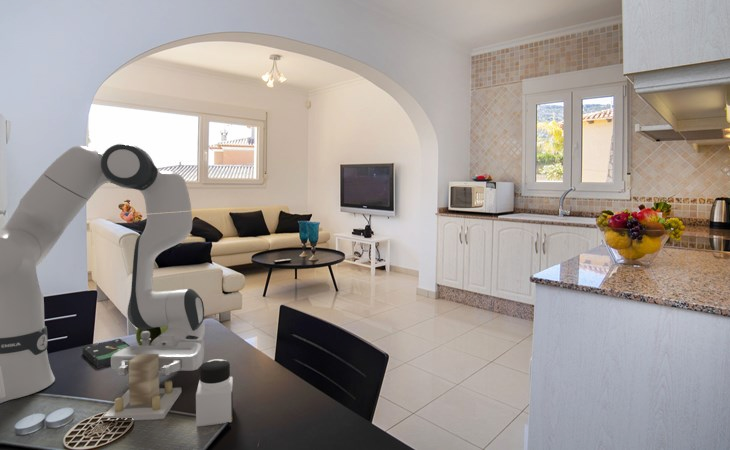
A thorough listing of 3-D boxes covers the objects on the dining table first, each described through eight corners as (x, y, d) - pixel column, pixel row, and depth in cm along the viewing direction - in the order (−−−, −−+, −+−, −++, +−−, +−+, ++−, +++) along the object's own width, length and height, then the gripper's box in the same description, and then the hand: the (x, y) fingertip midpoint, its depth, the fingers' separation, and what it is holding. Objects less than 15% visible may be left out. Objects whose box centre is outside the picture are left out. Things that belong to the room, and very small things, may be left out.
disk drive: (81, 356, 123) (97, 369, 113) (81, 346, 123) (97, 359, 113) (120, 346, 131) (138, 358, 121) (119, 338, 131) (138, 349, 121)
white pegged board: (103, 421, 87) (102, 404, 87) (128, 394, 99) (128, 379, 98) (163, 418, 88) (163, 402, 88) (181, 392, 100) (181, 377, 100)
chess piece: (154, 353, 124) (154, 327, 123) (155, 359, 120) (154, 332, 119) (136, 356, 122) (136, 329, 121) (136, 362, 118) (136, 334, 117)
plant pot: (173, 351, 134) (154, 355, 125) (151, 338, 136) (131, 342, 128) (185, 324, 134) (166, 326, 126) (162, 312, 136) (143, 314, 128)
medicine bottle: (232, 422, 87) (232, 367, 86) (196, 427, 85) (195, 371, 84) (233, 406, 94) (232, 354, 93) (199, 410, 92) (198, 357, 91)
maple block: (129, 405, 91) (128, 361, 90) (139, 395, 96) (138, 353, 95) (150, 405, 91) (149, 361, 91) (159, 396, 96) (158, 353, 95)
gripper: (128, 337, 105) (94, 358, 91) (209, 337, 106) (188, 358, 92) (128, 361, 106) (95, 385, 92) (209, 361, 106) (188, 386, 93)
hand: (142, 372), depth 92 cm, fingers open, 8 cm apart
